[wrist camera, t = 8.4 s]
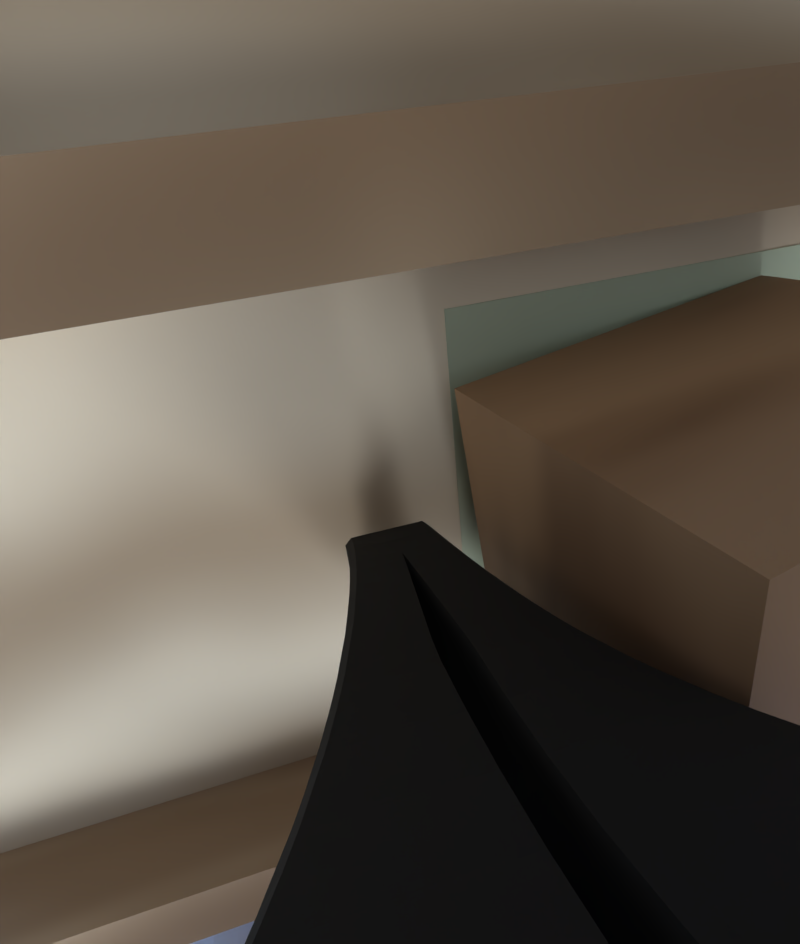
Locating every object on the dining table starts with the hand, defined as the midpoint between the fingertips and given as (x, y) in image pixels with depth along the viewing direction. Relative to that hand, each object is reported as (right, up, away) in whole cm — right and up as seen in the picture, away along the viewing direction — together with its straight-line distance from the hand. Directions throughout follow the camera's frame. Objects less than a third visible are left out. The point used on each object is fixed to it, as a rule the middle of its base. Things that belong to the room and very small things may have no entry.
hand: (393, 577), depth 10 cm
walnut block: (+4, +2, +1) cm, 5 cm away
